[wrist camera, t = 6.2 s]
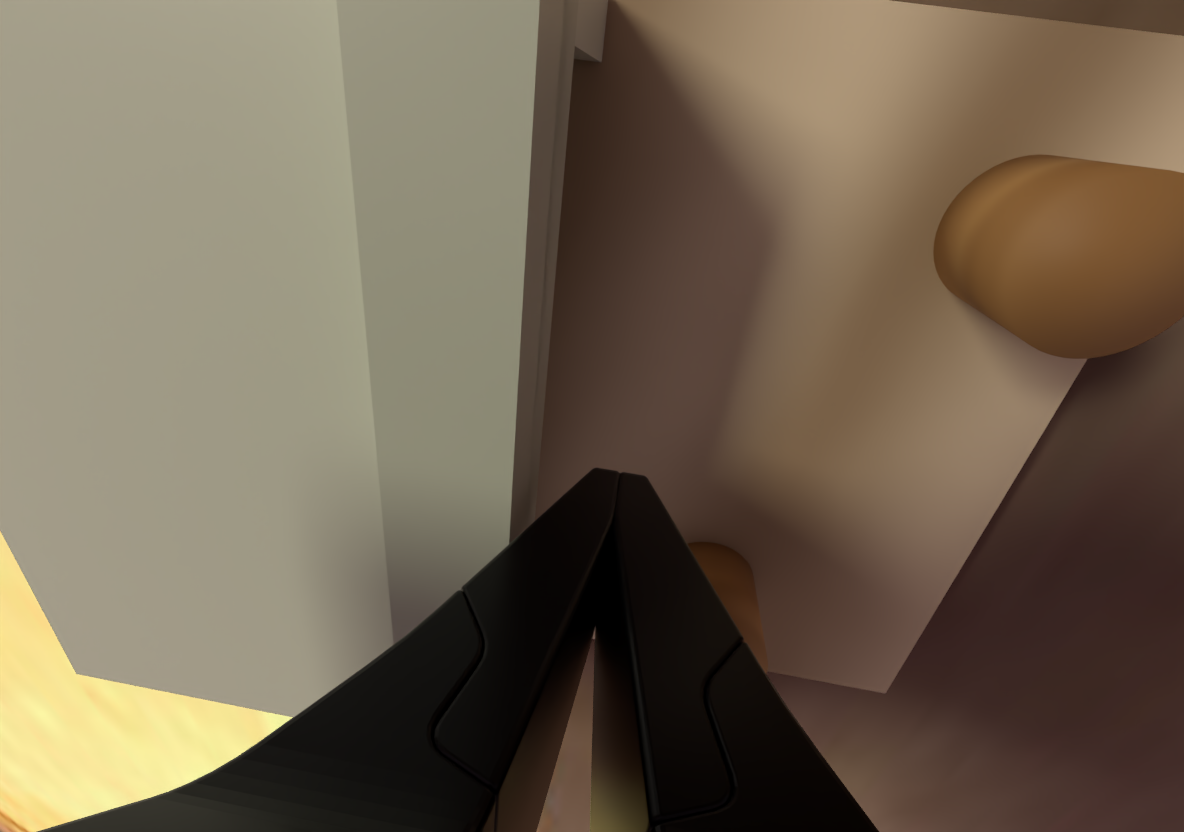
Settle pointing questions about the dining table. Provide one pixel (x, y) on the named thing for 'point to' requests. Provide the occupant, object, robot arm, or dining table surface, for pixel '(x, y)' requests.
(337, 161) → the cover
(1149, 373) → the dining table surface
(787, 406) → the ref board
